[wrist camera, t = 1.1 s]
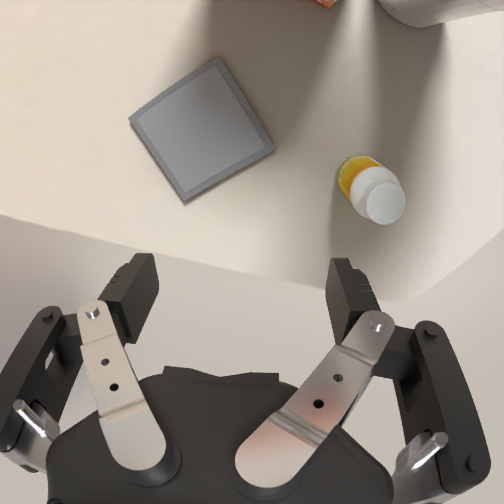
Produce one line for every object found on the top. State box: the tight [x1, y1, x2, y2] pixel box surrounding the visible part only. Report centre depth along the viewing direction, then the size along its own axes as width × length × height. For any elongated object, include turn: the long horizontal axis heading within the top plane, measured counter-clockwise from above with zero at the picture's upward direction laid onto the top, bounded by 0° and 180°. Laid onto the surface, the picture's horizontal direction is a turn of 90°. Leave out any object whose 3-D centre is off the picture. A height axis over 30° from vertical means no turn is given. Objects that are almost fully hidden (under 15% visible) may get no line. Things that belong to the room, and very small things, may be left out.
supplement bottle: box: [336, 154, 406, 225], centre depth 28 cm, size 5×5×10 cm
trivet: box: [128, 57, 276, 201], centre depth 30 cm, size 12×12×1 cm
